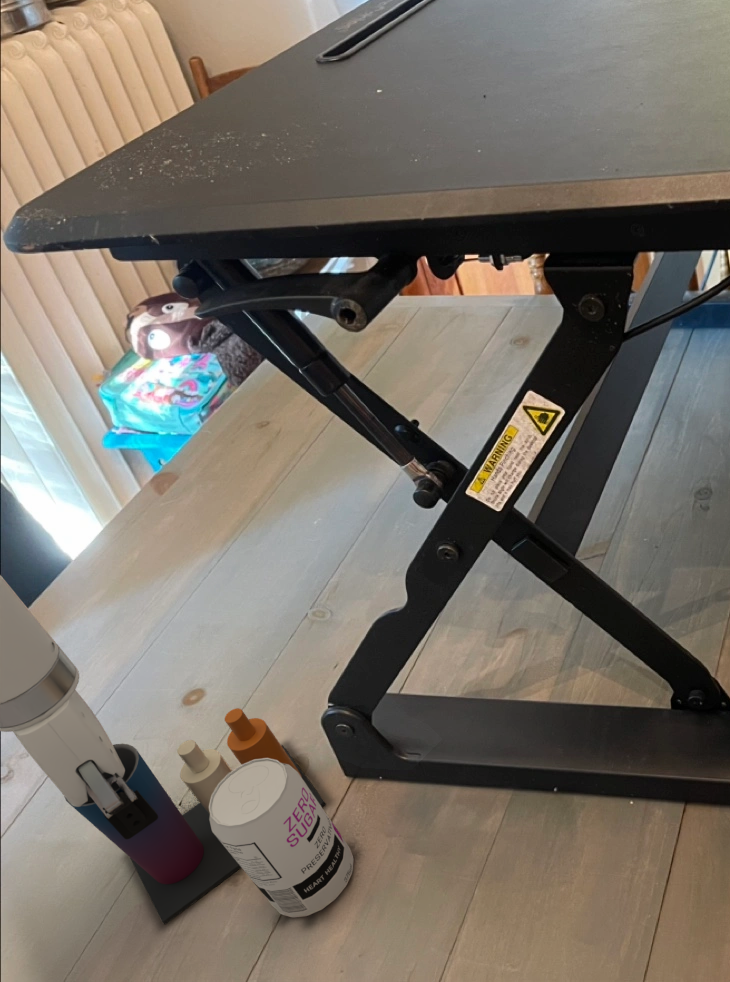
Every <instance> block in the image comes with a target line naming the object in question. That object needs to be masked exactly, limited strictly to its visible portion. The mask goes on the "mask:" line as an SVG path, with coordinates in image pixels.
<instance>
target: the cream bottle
mask: <svg viewBox="0 0 730 982" xmlns="http://www.w3.org/2000/svg"><path fill="white" fill-rule="evenodd" d="M176 753H177V755H178V756H179V758H180V759H181V760H182V761H183V763H184V764H183V765H182V767H181V769H180V773H179V776H180V779H181V781H182V782H183V783H184V784H185V786H186V787H187V788H188V790H189V791H190V792H191V793H192V795H193V796H194V797H195V798H196V800H197V801H198V802H199V803H201V804H202V806H203V807H204V808H205V809H206V811H207V812H208V813H209V814H210V811H209V804H210V799H211V795H212V794H213V792H214V790H215V789H216V787H217V785H218V784H219V783H220V782H221V781H222V780H223V779H224V778H225V777H226V775H227V774H228V773H230V772H231V771H233V770H234V769H232V768H231V766H230V765H229V764H228V762H227V761H226V760H225V758H224V757H223V755H222V754H221V753H220V752H219V751H218V750H217V749H214V748H207V749H201V747H200V746H199V745H198V743H197V742H196V741H195V740H193V739H188V740H185V741H184V742H182V743H181V744H180V745H179V746H178V748H177V750H176Z"/></svg>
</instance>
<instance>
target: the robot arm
mask: <svg viewBox="0 0 730 982" xmlns="http://www.w3.org/2000/svg"><path fill="white" fill-rule="evenodd" d="M79 680H80V672H79V670H78V668H77V666H76V665H75V664H74V663H73V661H72V660H71V659H70V658H69V656H67V654H66V653H65V652H64V651H63V649H62V648H61V647H60V646H59V644H58V643H57V642H56V641H55V640H54V639H53V637H52V636H51V634H50V633H49V632H48V631H47V630H46V629H45V628H44V626H43V625H42V624H41V622H39V620H38V619H37V618H36V616H35V615H34V614H33V612H32V611H31V610H30V609H29V608H28V607H27V605H26V604H25V603H24V602H23V601H22V599H21V598H20V597H19V596H18V594H17V593H16V592H15V591H14V589H13V588H12V587H11V586H10V585H9V584H8V582H7V581H6V580H5V578H3V576H2V575H1V574H0V732H4V733H9V732H10V733H13V734H14V736H15V737H16V738H17V740H18V741H19V742H20V744H21V745H22V746H23V748H24V749H25V750H26V752H27V753H28V754H29V756H30V757H31V758H32V759H33V761H34V762H35V763H36V764H37V765H38V767H39V768H40V769H41V770H42V771H43V773H44V774H45V775H46V776H47V777H48V778H49V779H50V781H51V782H52V783H53V784H54V785H55V787H56V788H57V789H58V790H59V791H60V793H61V794H62V795H63V797H64V796H65V797H66V798H67V800H68V801H69V802H70V803H71V805H72V806H76V807H80V806H82V804H84V803H85V802H87V801H88V797H87V793H88V794H89V796H90V797H91V798H92V799H93V800H94V802H95V803H96V804H97V806H98V807H99V808H100V809H101V811H102V812H103V815H104V817H105V818H106V819H107V820H108V821H109V822H110V823H111V824H112V825H113V827H114V828H115V829H116V830H117V831H118V832H119V833H120V834H121V835H122V836H123V837H124V839H130V838H132V837H133V836H134V835H136V834H137V833H139V832H140V831H142V830H143V829H144V828H146V827H147V826H149V825H150V824H152V823H153V822H154V821H156V820H157V819H158V815H157V813H156V812H155V810H154V809H153V808H152V807H151V806H150V805H149V803H148V802H147V801H146V800H145V799H144V798H143V796H142V795H141V794H140V793H139V792H138V791H137V790H136V791H135V792H133V790H132V789H131V788H130V786H129V785H128V784H127V782H126V781H125V780H124V779H123V776H124V773H125V768H124V766H123V764H122V762H121V760H120V758H119V756H118V754H117V752H116V750H115V748H114V746H113V745H114V744H113V743H112V741H111V739H110V737H109V735H108V733H107V732H106V730H105V729H104V726H103V725H102V723H101V721H100V720H99V719H98V716H96V714H95V713H94V711H93V710H92V709H91V707H90V706H89V705H88V703H87V702H86V701H85V699H84V698H83V697H82V696H81V694H80V693H79V692H78V691H77V687H78V685H79ZM104 772H106V773H109V774H110V775H109V776H107V777H106V778H105V777H104V775H103V773H104ZM115 782H116V783H117V784H118V785H119V787H120V788H121V789H122V790H123V792H120V793H118V794H117V793H116V792H115V791H114V790H113V788H112V787H111V785H112V784H114V783H115ZM65 797H64V798H65ZM71 805H70V806H71ZM72 806H71V807H72Z"/></svg>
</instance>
